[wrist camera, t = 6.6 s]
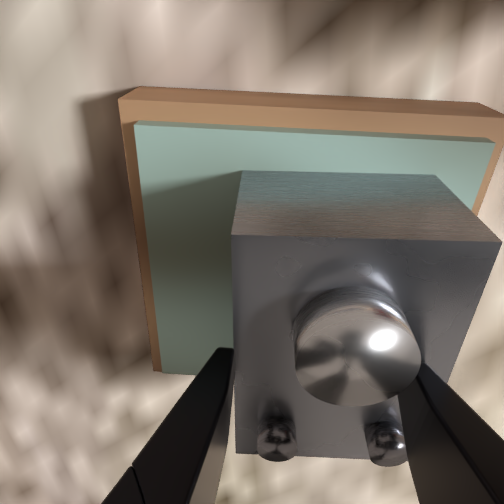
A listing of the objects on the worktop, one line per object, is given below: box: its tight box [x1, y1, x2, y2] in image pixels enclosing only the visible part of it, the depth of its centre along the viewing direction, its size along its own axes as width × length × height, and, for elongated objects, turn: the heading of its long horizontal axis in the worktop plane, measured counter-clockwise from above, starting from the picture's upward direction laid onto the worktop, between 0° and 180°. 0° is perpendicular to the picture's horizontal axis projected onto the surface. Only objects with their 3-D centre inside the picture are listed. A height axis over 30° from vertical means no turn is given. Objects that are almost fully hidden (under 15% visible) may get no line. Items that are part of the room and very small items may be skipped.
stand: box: [118, 86, 504, 375], centre depth 13 cm, size 10×10×2 cm
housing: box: [231, 170, 502, 467], centre depth 10 cm, size 7×5×4 cm
